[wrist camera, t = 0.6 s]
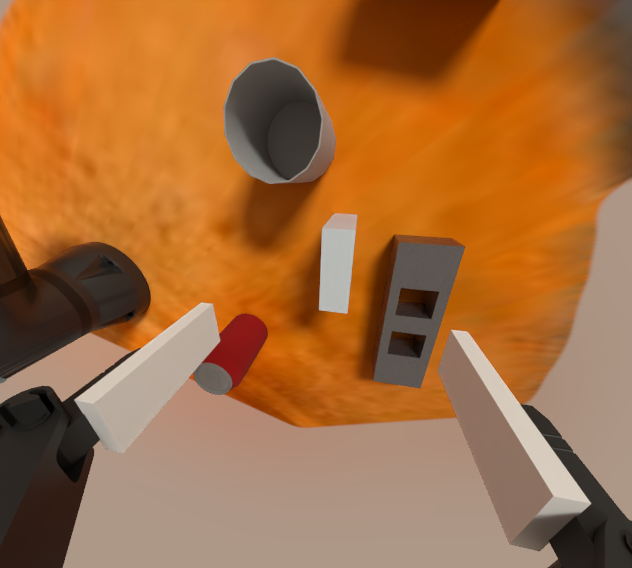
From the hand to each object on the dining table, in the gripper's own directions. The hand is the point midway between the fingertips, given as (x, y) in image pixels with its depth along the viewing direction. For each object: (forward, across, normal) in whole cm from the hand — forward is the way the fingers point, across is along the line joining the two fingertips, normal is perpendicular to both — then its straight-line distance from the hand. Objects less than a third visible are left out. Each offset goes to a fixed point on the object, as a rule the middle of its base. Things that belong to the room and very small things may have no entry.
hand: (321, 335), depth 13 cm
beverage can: (+21, -15, -16) cm, 31 cm away
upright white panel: (+20, 0, 0) cm, 21 cm away
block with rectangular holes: (+20, +10, -9) cm, 25 cm away
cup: (+21, -6, +12) cm, 25 cm away
